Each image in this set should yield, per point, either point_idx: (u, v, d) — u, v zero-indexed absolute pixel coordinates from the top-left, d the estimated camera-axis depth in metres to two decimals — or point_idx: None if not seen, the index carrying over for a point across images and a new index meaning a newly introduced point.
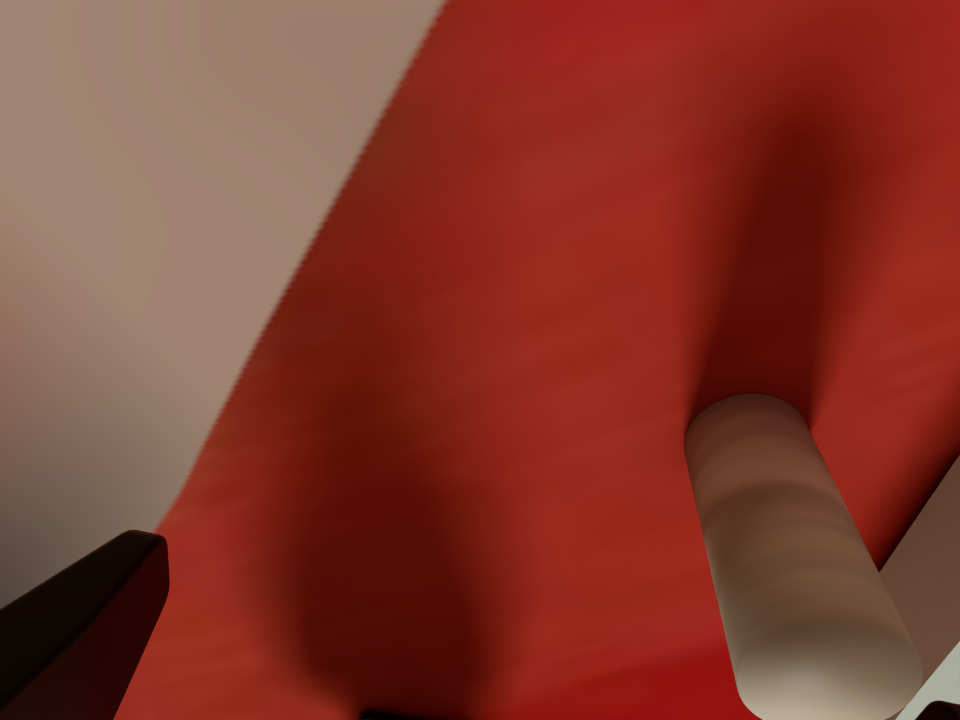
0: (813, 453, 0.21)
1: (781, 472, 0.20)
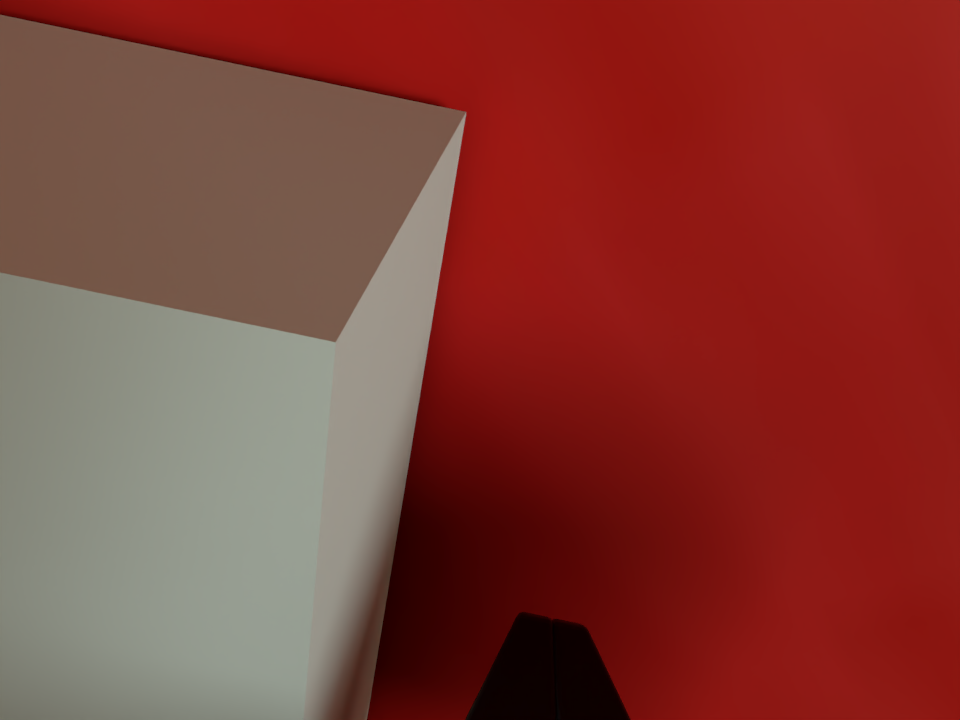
0: None
1: None
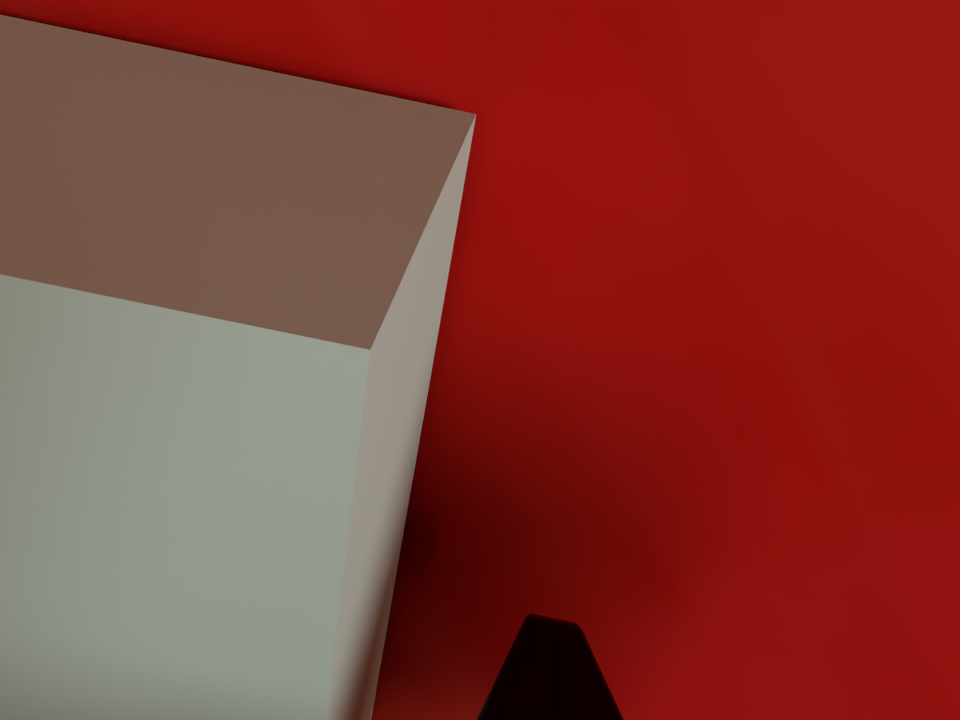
0: None
1: None
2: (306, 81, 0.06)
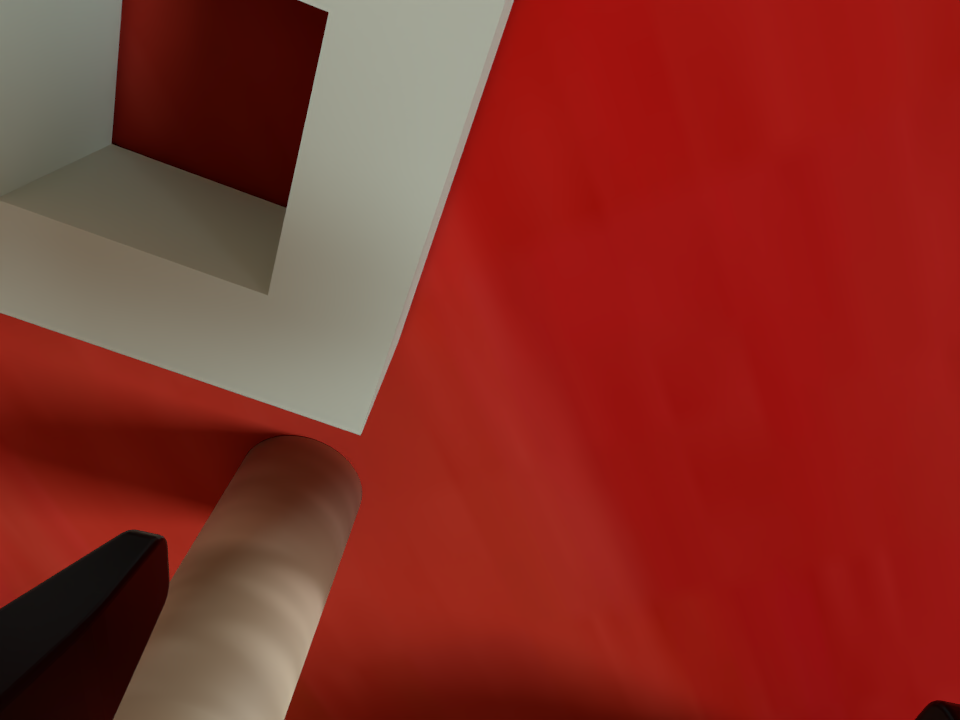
0: (218, 504, 0.21)
1: None
2: None
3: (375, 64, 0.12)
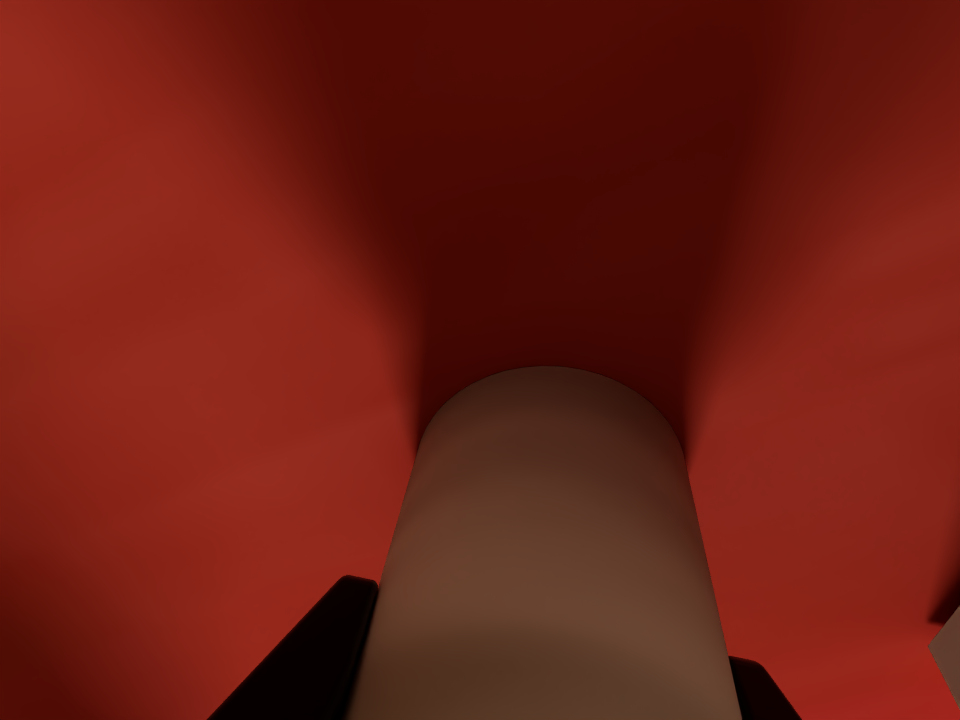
0: (655, 523, 0.08)
1: (524, 598, 0.06)
2: None
3: None
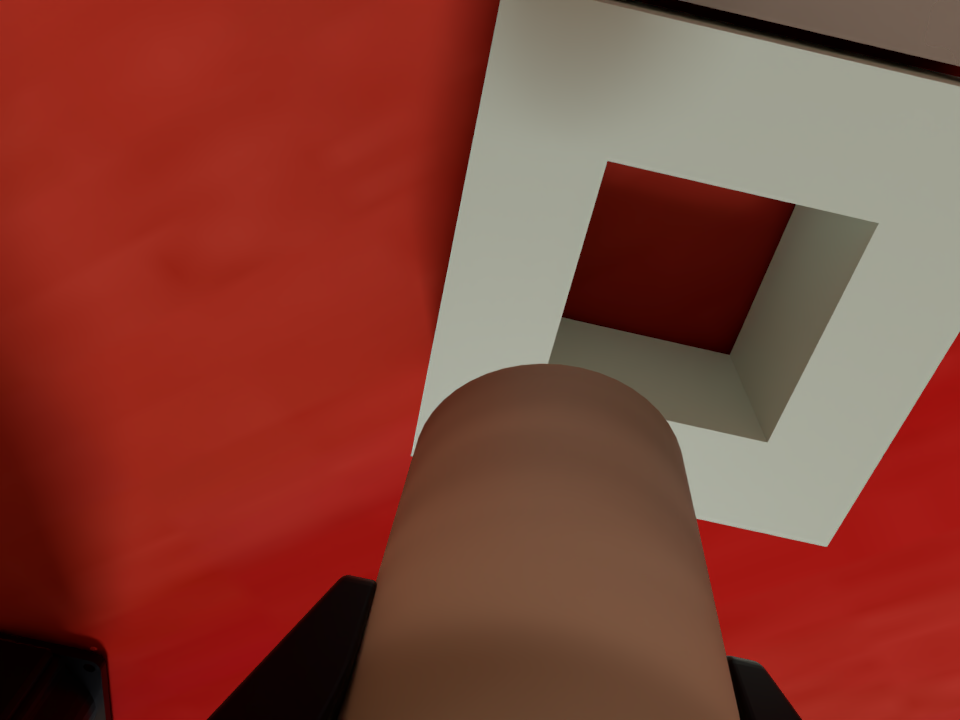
0: (653, 521, 0.08)
1: (520, 595, 0.06)
2: None
3: (732, 468, 0.18)
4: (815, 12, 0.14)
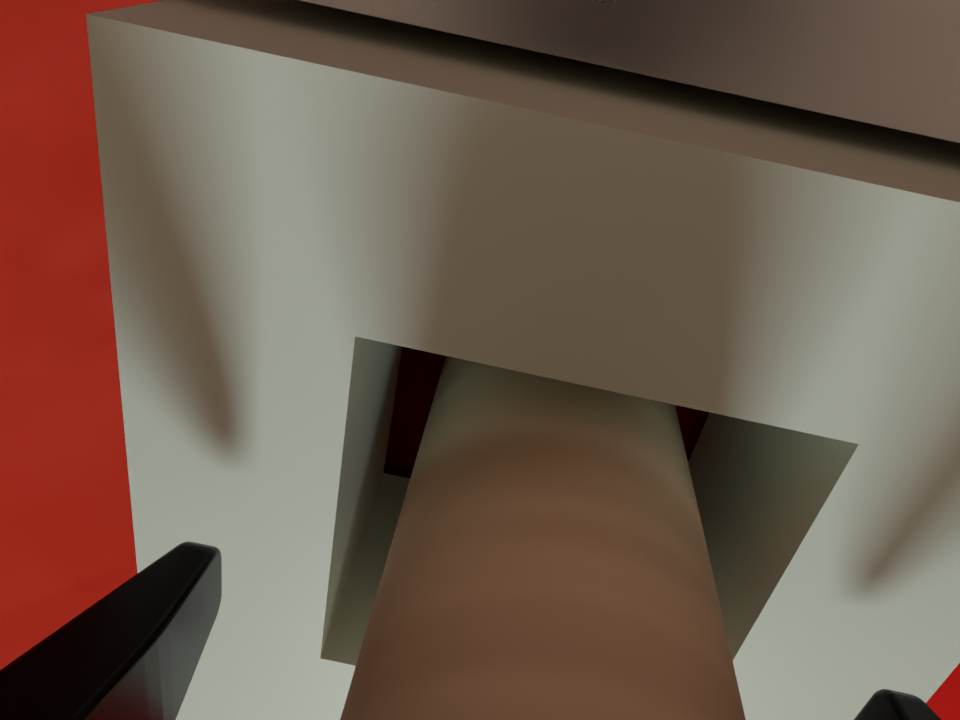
0: None
1: (537, 414, 0.09)
2: None
3: None
4: (735, 59, 0.07)
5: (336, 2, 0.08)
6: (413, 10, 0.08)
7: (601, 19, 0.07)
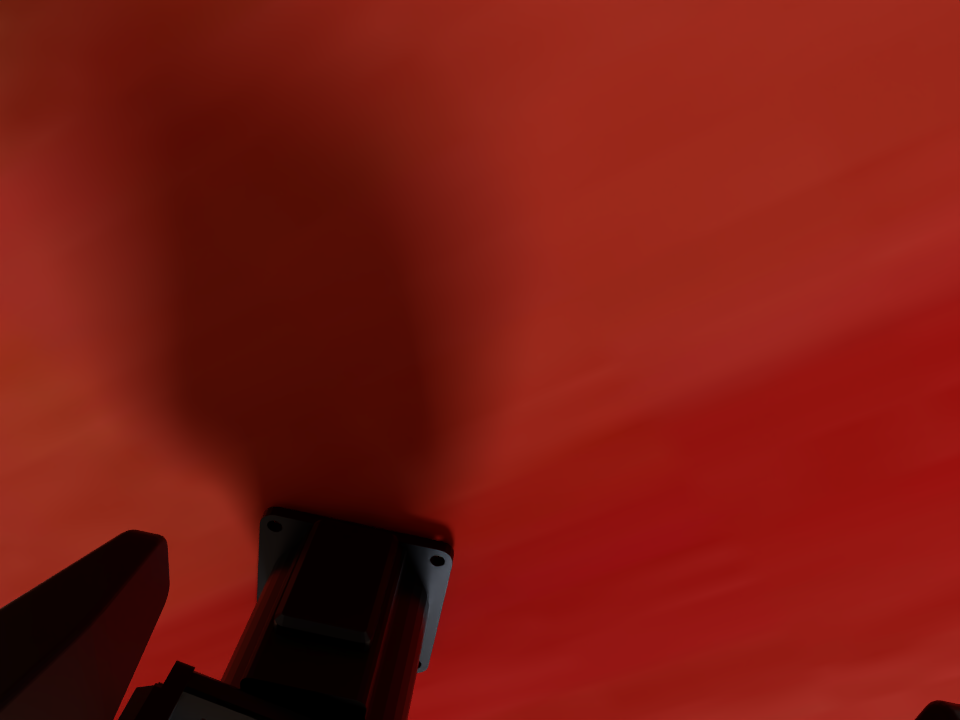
0: None
1: None
2: None
3: None
4: None
5: None
6: None
7: None
